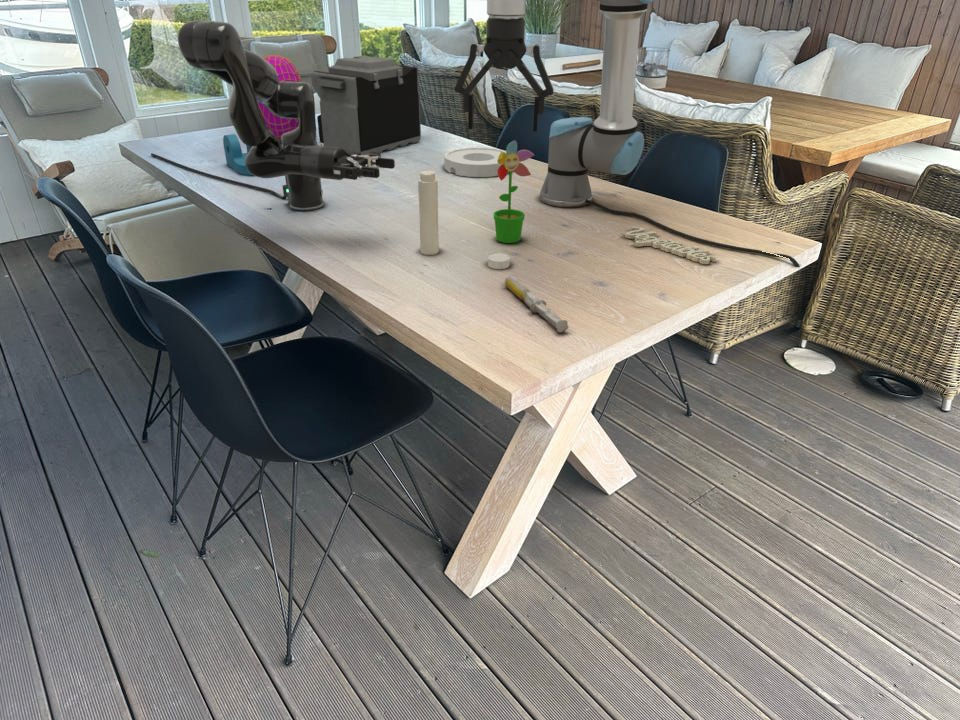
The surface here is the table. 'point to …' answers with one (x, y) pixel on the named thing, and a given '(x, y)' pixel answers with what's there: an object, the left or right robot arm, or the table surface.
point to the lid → (499, 261)
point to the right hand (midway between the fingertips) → (502, 129)
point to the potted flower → (510, 219)
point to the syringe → (535, 304)
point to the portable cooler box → (368, 105)
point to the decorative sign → (669, 245)
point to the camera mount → (235, 154)
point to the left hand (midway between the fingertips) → (386, 168)
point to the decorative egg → (288, 74)
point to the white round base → (473, 162)
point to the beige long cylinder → (428, 213)
